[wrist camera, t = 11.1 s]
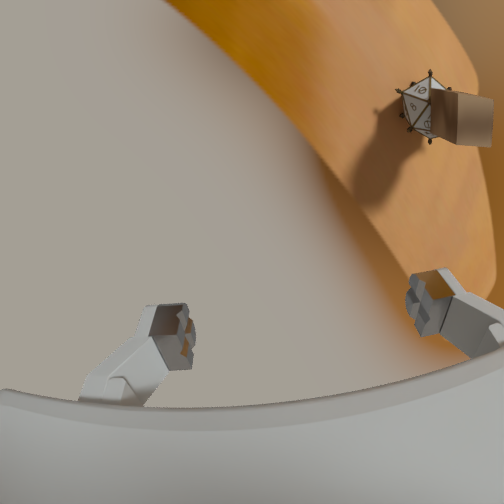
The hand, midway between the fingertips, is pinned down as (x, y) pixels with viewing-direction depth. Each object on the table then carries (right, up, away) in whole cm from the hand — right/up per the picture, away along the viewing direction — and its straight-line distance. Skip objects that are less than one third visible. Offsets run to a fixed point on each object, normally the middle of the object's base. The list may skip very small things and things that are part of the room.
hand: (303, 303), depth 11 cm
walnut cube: (+19, +17, +15) cm, 30 cm away
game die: (+19, +21, +22) cm, 36 cm away
